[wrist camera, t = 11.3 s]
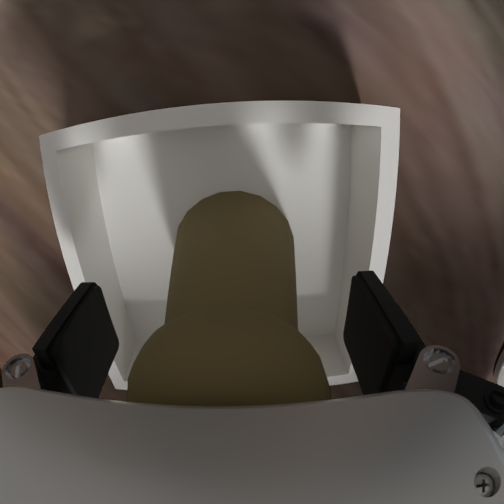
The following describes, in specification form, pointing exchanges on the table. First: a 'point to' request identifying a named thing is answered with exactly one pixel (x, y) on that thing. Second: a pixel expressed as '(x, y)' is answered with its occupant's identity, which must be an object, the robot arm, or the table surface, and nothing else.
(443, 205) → the table surface
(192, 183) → the box
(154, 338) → the cork
